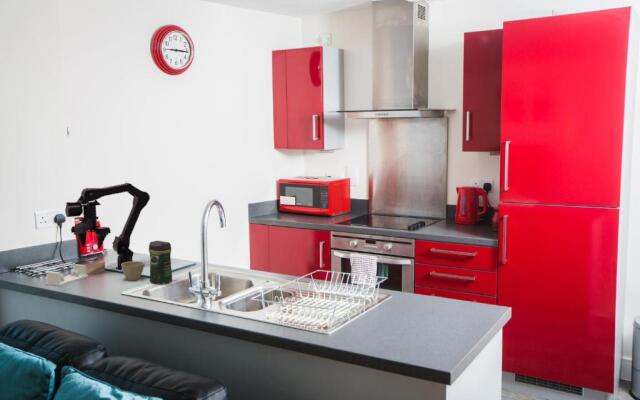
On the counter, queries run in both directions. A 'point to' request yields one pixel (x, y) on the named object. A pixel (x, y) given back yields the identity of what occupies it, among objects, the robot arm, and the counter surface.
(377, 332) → the counter surface
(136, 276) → the flower pot
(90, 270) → the tan wooden bar
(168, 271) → the coffee jar
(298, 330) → the counter surface
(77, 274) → the stand
